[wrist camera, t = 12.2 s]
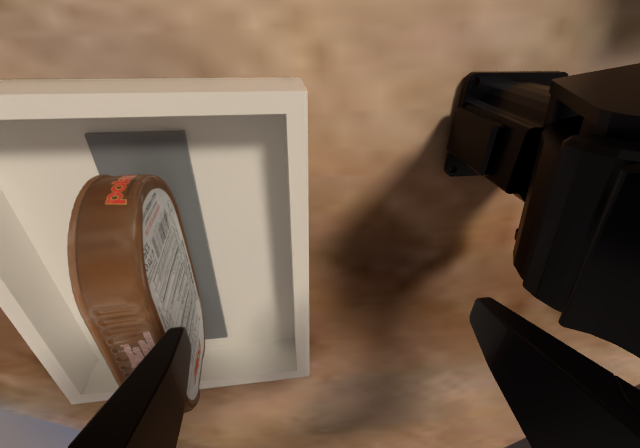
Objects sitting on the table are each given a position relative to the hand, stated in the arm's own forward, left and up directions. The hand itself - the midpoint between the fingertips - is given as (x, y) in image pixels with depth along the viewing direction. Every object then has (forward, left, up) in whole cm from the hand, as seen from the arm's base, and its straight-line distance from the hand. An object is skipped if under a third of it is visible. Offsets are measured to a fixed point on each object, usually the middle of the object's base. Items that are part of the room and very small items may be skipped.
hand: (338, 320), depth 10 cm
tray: (+9, +6, -13) cm, 17 cm away
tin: (+9, +6, -12) cm, 16 cm away
